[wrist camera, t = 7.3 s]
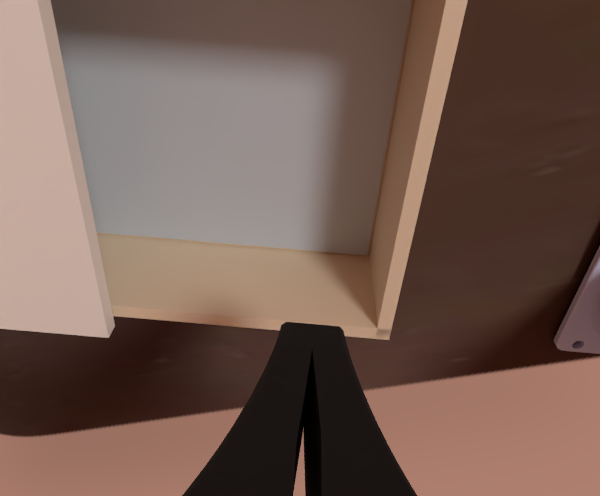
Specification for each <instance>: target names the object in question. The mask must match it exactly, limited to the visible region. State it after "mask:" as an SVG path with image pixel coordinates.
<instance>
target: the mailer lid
mask: <svg viewBox="0 0 600 496" xmlns="http://www.w3.org/2000/svg"><path fill="white" fill-rule="evenodd" d="M114 327H115V324H114V319H113V314H112V309H111V303H110V298H109V293H108V288H107V283H106V278H105V273H104V268H103V263H102V258H101V253H100V248H99V243H98V238H97V233H96V228H95V223H94V217H93V212H92V207H91V202H90V197H89V192H88V187H87V182H86V177H85V172H84V167H83V162H82V157H81V152H80V147H79V142H78V136H77V131H76V126H75V121H74V116H73V111H72V106H71V101H70V96H69V91H68V86H67V81H66V76H65V71H64V66H63V61H62V56H61V50H60V45H59V40H58V35H57V30H56V25H55V20H54V15H53V10H52V5H51V0H0V329H11V330H23V331H34V332H46V333H57V334H69V335H81V336H92V337H104V338H109V336H110V335H111V333H112V331H113V329H114Z"/></svg>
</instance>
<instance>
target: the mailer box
mask: <svg viewBox="0 0 600 496" xmlns="http://www.w3.org/2000/svg"><path fill="white" fill-rule="evenodd" d="M467 1H468V0H51V5H52V10H53V15H54V20H55V25H56V30H57V35H58V40H59V45H60V50H61V56H62V61H63V66H64V71H65V76H66V81H67V86H68V91H69V96H70V101H71V106H72V111H73V116H74V121H75V126H76V131H77V136H78V142H79V147H80V152H81V157H82V162H83V167H84V172H85V177H86V182H87V187H88V192H89V197H90V202H91V207H92V212H93V217H94V223H95V228H96V233H97V238H98V243H99V248H100V253H101V258H102V263H103V268H104V273H105V278H106V283H107V288H108V293H109V298H110V303H111V309H112V314H113V316H119V317H130V318H142V319H153V320H165V321H177V322H188V323H200V324H211V325H223V326H235V327H246V328H258V329H269V330H280V328H281V325H282V324H284V323H285V322H296V323H307V324H319V325H330V326H340V327H341V328H342V329H343V331H344V336H350V337H362V338H374V339H385V340H389V337H390V333H391V329H392V324H393V320H394V316H395V311H396V307H397V303H398V298H399V294H400V290H401V285H402V281H403V277H404V273H405V268H406V264H407V260H408V255H409V251H410V247H411V242H412V238H413V234H414V229H415V225H416V221H417V217H418V212H419V208H420V204H421V199H422V195H423V191H424V186H425V182H426V178H427V173H428V169H429V165H430V160H431V156H432V152H433V148H434V143H435V139H436V135H437V130H438V126H439V122H440V117H441V113H442V109H443V104H444V100H445V96H446V92H447V87H448V83H449V79H450V74H451V70H452V66H453V61H454V57H455V53H456V48H457V44H458V40H459V35H460V31H461V27H462V23H463V18H464V14H465V10H466V5H467Z"/></svg>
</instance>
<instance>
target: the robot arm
mask: <svg viewBox="0 0 600 496" xmlns="http://www.w3.org/2000/svg"><path fill="white" fill-rule="evenodd" d="M577 341H578V342H577ZM574 342H576V343H574ZM554 343H555V345H556V347H557V348H558V349H559V350H562V351H572V352H583V353H595V354H600V246H599V248H598V250H597V252H596V254H595V256H594V258H593V260H592V262H591V264H590V267H589V269H588V271H587V273H586V275H585V277H584V279H583V281H582V283H581V285H580V287H579V289H578V291H577V293H576V295H575V297H574V299H573V301H572V303H571V305H570V307H569V309H568V311H567V313H566V315H565V317H564V319H563V321H562V323H561V325H560V327H559V329H558V331H557V334H556V336H555V338H554ZM303 426H304V457H305V458H304V460H305V490H306V496H417V495H416V493H415V491H414V490H413V488H412V487H411V485H410V483H409V482H408V480H407V478H406V476H405V475H404V473H403V471H402V470H401V468H400V466H399V464H398V463H397V461H396V459H395V457H394V455H393V453H392V452H391V450H390V448H389V446H388V444H387V442H386V440H385V438H384V436H383V434H382V432H381V430H380V428H379V426H378V424H377V422H376V420H375V418H374V415H373V413H372V411H371V409H370V406H369V404H368V402H367V399H366V397H365V395H364V392H363V390H362V388H361V385H360V383H359V380H358V377H357V375H356V372H355V369H354V366H353V364H352V361H351V358H350V354H349V351H348V348H347V344H346V340H345V336H344V331H343V329H342V328H341V327H340V326H330V325H319V324H307V323H296V322H285V323H284V324H282V325H281V328H280V332H279V336H278V339H277V342H276V345H275V347H274V350H273V352H272V354H271V357H270V359H269V361H268V363H267V366H266V368H265V370H264V372H263V374H262V376H261V378H260V380H259V381H258V383H257V385H256V387H255V389H254V391H253V393H252V395H251V397H250V398H249V400H248V402H247V403H246V405H245V407H244V408H243V410H242V412H241V413H240V415H239V417H238V418H237V420H236V422H235V424H234V425H233V427H232V428H231V430H230V431H229V433H228V434H227V436H226V437H225V439H224V440H223V442H222V443H221V445H220V446H219V448H218V449H217V451H216V452H215V453H214V455H213V456H212V458H211V459H210V460H209V462H208V463H207V465H206V466H205V467H204V469H203V470H202V471H201V472H200V474H199V475H198V476H197V478H196V479H195V480H194V482H193V483H192V484H191V485H190V487H189V488H188V489H187V491H186V492H185V493H184V494H183V496H293V491H294V484H295V478H296V471H297V465H298V458H299V452H300V446H301V439H302V432H303Z"/></svg>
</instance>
